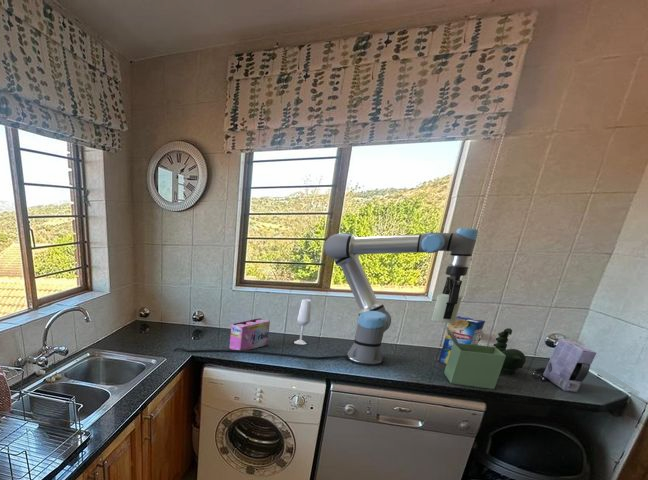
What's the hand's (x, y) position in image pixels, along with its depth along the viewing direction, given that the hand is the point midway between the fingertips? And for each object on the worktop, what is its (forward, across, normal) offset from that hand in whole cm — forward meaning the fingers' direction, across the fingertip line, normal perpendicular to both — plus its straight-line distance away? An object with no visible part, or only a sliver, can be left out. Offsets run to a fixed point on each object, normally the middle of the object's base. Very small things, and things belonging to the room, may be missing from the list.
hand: (444, 316), depth 184 cm
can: (+2, 0, 0) cm, 2 cm away
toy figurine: (+24, +7, -30) cm, 39 cm away
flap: (+5, -17, -1) cm, 18 cm away
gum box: (+23, -6, +85) cm, 89 cm away
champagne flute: (+23, +13, +60) cm, 66 cm away
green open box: (+24, -18, -10) cm, 31 cm away
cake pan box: (+24, -6, -46) cm, 52 cm away
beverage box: (+24, +6, -11) cm, 27 cm away
